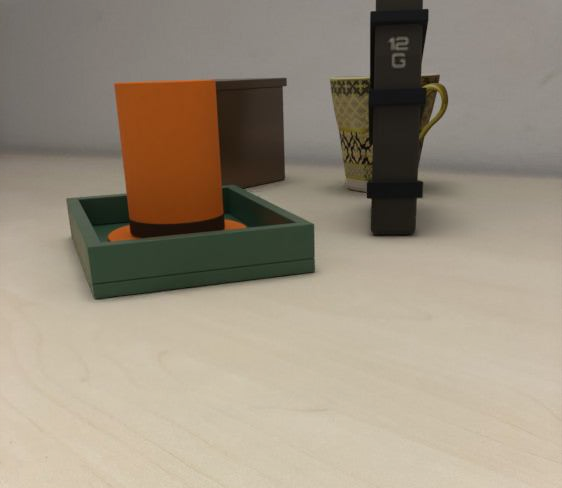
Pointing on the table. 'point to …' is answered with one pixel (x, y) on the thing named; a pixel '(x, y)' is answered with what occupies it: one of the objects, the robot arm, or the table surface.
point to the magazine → (396, 113)
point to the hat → (170, 158)
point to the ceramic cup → (355, 122)
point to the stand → (251, 130)
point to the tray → (189, 246)
